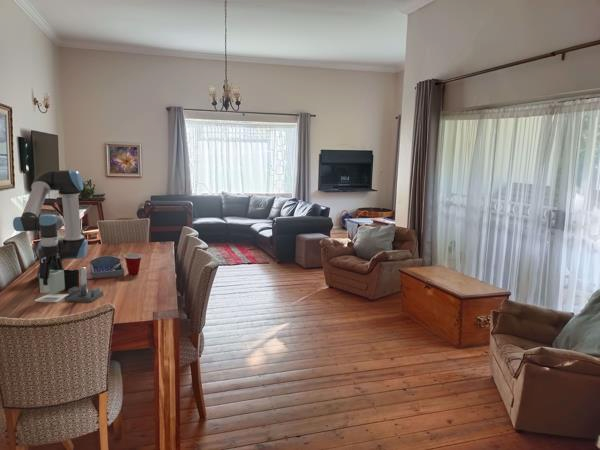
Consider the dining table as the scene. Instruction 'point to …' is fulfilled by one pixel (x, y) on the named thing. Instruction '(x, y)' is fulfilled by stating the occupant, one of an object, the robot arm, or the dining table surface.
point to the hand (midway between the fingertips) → (52, 288)
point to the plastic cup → (133, 263)
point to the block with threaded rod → (83, 290)
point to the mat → (51, 298)
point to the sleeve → (54, 281)
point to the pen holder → (71, 278)
